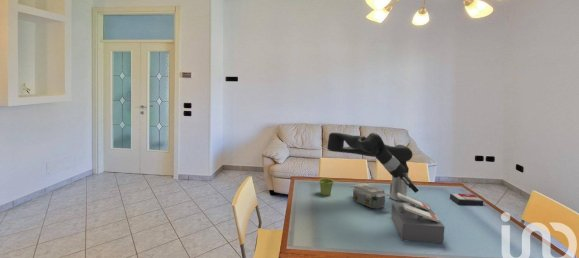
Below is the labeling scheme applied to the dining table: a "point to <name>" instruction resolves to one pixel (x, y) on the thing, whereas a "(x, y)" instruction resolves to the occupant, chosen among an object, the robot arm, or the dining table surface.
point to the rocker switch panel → (416, 225)
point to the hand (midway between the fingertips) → (416, 191)
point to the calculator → (465, 199)
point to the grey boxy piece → (369, 195)
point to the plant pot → (326, 186)
